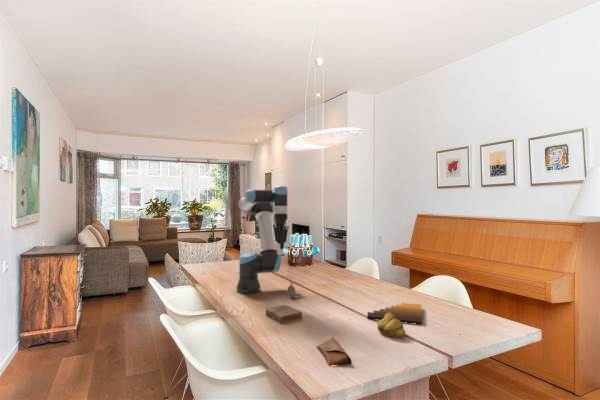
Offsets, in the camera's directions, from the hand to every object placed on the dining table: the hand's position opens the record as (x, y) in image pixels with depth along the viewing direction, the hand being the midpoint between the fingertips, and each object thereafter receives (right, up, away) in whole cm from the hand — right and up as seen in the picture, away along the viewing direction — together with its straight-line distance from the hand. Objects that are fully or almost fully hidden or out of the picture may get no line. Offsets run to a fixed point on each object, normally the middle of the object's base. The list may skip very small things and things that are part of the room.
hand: (280, 254), depth 198 cm
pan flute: (+60, -28, -22) cm, 69 cm away
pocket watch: (+8, -27, +6) cm, 28 cm away
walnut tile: (-1, -25, -21) cm, 33 cm away
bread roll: (+51, -27, -48) cm, 75 cm away
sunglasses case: (+23, -28, -68) cm, 77 cm away
